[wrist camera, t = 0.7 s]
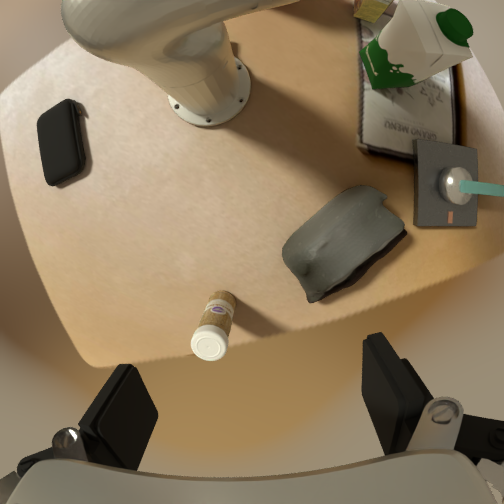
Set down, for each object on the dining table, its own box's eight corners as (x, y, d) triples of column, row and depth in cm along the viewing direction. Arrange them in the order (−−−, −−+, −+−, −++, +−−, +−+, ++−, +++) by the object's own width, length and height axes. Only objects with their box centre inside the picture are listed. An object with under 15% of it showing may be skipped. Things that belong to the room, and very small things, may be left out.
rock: (313, 303, 47) (322, 326, 39) (268, 253, 45) (269, 269, 37) (397, 230, 43) (420, 240, 35) (357, 175, 41) (377, 175, 34)
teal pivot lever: (438, 165, 38) (450, 165, 34) (498, 174, 37) (510, 175, 34) (438, 202, 40) (450, 204, 36) (497, 205, 39) (510, 208, 35)
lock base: (412, 139, 39) (417, 138, 37) (472, 149, 38) (477, 149, 37) (413, 224, 42) (418, 226, 41) (471, 224, 42) (476, 226, 40)
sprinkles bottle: (235, 289, 46) (224, 331, 33) (237, 314, 47) (228, 362, 34) (206, 290, 46) (187, 331, 33) (210, 315, 48) (193, 362, 35)
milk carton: (414, 91, 37) (488, 58, 17) (368, 95, 38) (432, 51, 18) (397, 46, 35) (457, -4, 15) (351, 47, 36) (399, -16, 16)
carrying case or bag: (95, 168, 42) (82, 93, 39) (86, 168, 39) (73, 90, 36) (53, 188, 43) (42, 119, 40) (43, 190, 40) (32, 117, 37)
